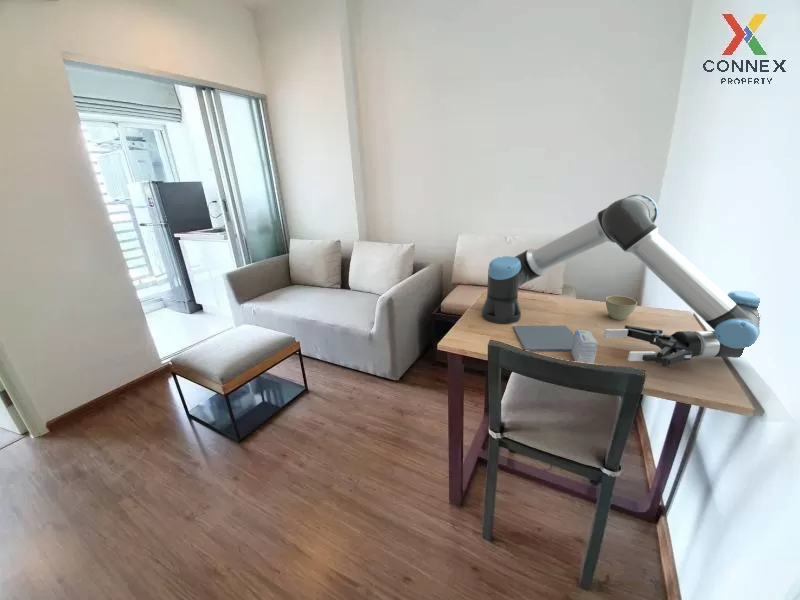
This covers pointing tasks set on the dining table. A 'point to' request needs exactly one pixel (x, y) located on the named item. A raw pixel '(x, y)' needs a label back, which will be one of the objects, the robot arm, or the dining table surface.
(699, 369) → the dining table surface
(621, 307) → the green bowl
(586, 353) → the medicine box
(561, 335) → the slate mat
